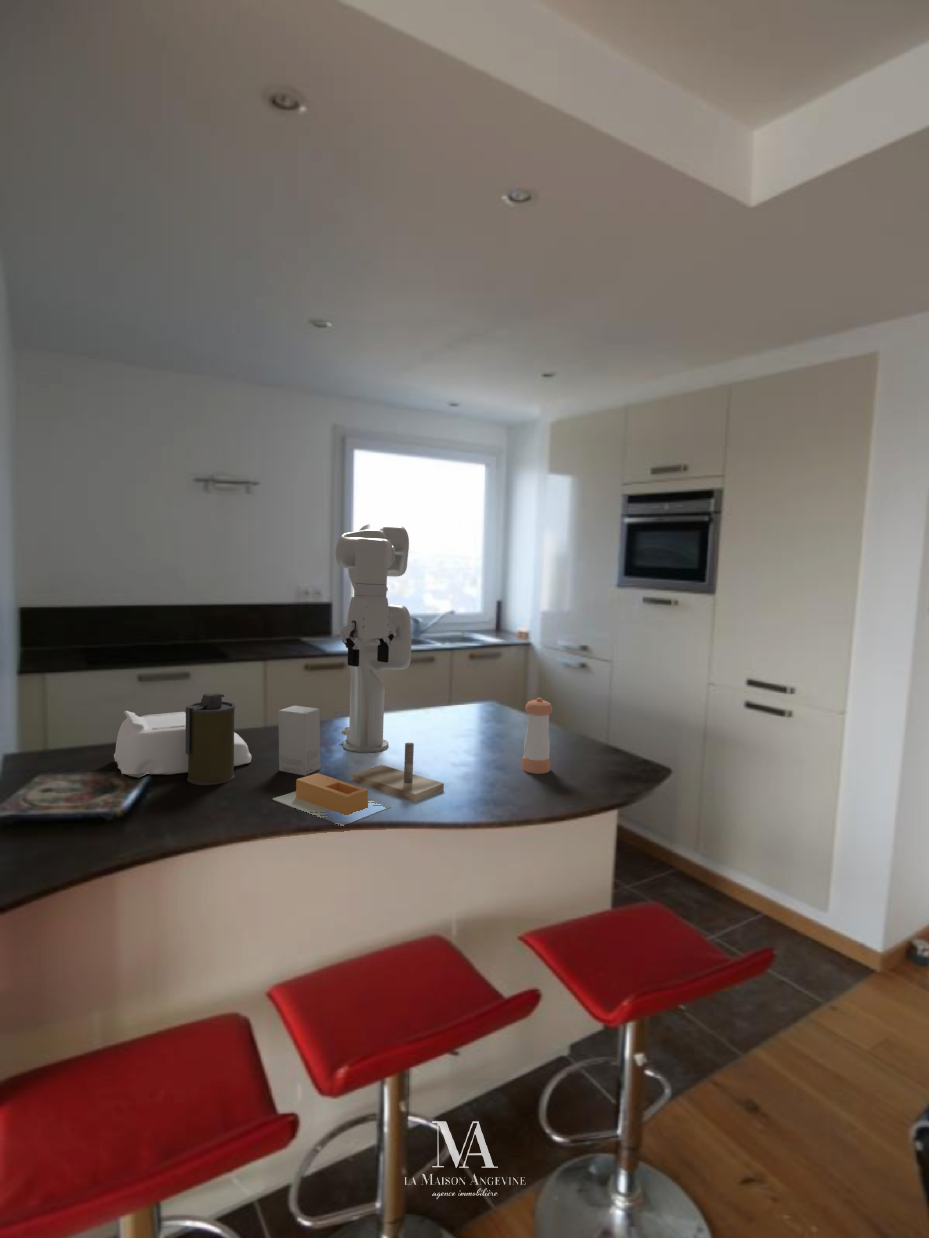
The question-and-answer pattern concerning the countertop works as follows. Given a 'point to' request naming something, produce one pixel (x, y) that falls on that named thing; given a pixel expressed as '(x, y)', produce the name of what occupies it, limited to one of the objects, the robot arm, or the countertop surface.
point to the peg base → (399, 779)
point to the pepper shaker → (537, 737)
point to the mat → (308, 805)
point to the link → (332, 793)
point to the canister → (210, 740)
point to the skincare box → (299, 740)
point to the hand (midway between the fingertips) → (368, 663)
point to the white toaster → (160, 745)
